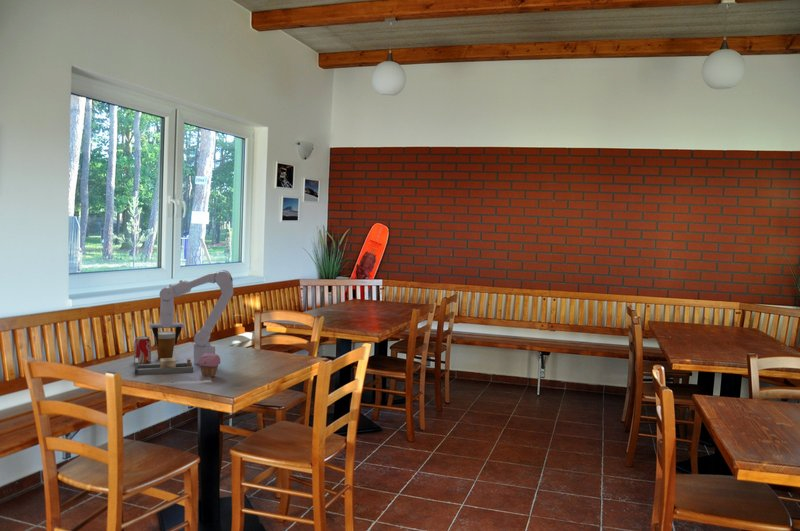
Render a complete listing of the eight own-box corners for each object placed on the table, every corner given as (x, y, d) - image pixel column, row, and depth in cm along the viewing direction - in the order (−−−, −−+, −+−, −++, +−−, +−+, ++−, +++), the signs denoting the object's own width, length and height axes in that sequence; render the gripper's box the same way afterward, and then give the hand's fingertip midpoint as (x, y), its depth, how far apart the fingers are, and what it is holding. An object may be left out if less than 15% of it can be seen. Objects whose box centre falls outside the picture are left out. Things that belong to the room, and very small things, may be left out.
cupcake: (202, 373, 281) (202, 350, 281) (222, 374, 281) (223, 351, 280) (195, 378, 272) (195, 354, 272) (216, 379, 272) (216, 355, 272)
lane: (191, 369, 289) (191, 355, 289) (193, 374, 280) (193, 360, 280) (135, 371, 281) (135, 357, 280) (134, 376, 272) (135, 362, 271)
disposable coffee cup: (180, 358, 311) (180, 332, 311) (163, 361, 303) (163, 335, 303) (167, 355, 316) (167, 330, 316) (150, 358, 308) (150, 332, 308)
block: (189, 367, 287) (189, 357, 287) (190, 370, 282) (190, 360, 281) (160, 368, 283) (160, 358, 282) (160, 371, 277) (160, 361, 277)
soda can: (145, 366, 292) (145, 339, 291) (130, 365, 293) (130, 338, 292) (154, 363, 299) (154, 336, 298) (139, 361, 300) (140, 335, 299)
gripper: (149, 315, 288) (149, 346, 289) (184, 314, 293) (184, 345, 294) (149, 313, 295) (149, 343, 295) (183, 312, 300) (183, 342, 301)
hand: (166, 344), depth 295 cm, fingers open, 7 cm apart
